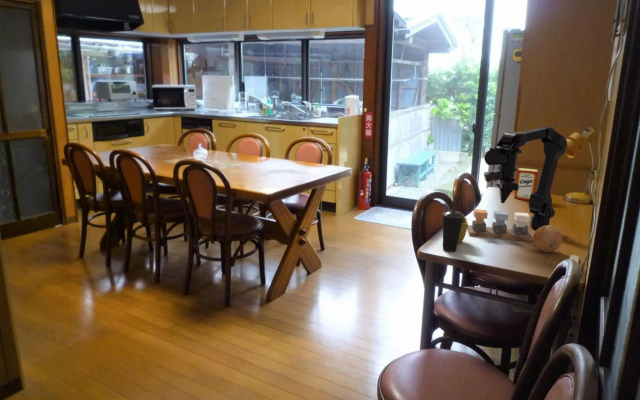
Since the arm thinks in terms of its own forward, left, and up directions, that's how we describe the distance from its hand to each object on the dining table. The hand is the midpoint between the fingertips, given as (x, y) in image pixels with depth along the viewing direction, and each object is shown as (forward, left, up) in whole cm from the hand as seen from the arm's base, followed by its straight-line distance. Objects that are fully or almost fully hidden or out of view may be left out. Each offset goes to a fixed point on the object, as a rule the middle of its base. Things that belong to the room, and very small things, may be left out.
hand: (502, 202), depth 191 cm
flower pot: (+19, +14, -14) cm, 27 cm away
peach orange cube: (+8, 0, -10) cm, 12 cm away
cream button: (-8, 0, -10) cm, 13 cm away
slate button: (0, 0, -10) cm, 10 cm away
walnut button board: (0, 0, -14) cm, 14 cm away
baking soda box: (-24, -70, -14) cm, 76 cm away
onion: (-15, +15, -14) cm, 25 cm away
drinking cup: (+21, +24, -14) cm, 34 cm away
